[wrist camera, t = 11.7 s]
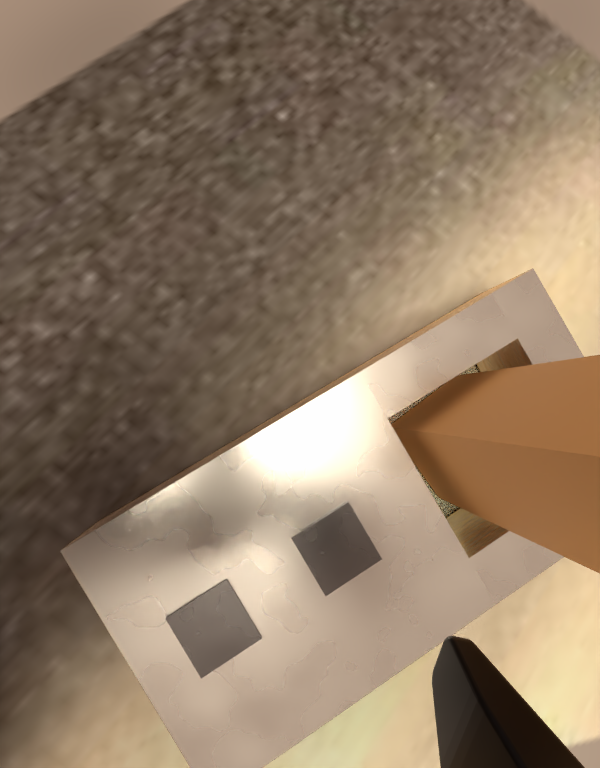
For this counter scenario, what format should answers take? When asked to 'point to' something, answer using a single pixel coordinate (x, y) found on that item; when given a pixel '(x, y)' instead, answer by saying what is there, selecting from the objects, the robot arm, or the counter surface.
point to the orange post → (518, 451)
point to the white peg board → (312, 548)
